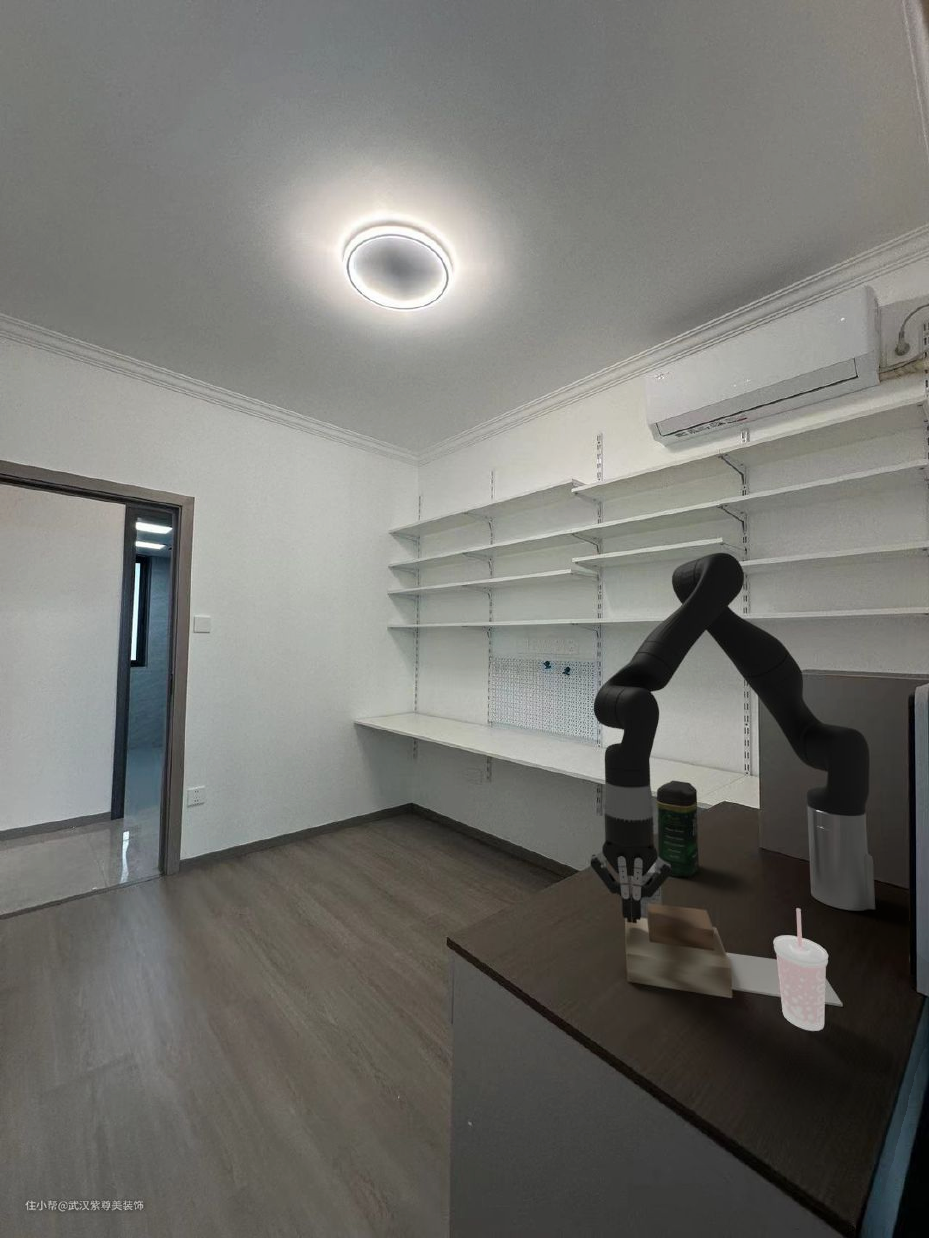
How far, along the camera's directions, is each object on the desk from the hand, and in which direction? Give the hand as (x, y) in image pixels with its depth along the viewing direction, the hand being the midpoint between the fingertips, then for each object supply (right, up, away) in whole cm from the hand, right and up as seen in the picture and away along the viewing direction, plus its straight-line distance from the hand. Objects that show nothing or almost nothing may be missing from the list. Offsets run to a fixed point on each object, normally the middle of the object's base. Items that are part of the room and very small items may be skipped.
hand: (631, 920), depth 83 cm
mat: (+19, -5, -6) cm, 21 cm away
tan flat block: (+5, -5, -4) cm, 8 cm away
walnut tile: (+7, -1, -2) cm, 7 cm away
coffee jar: (+20, -7, +31) cm, 38 cm away
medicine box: (+7, -6, +13) cm, 16 cm away
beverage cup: (+18, -5, -15) cm, 24 cm away
